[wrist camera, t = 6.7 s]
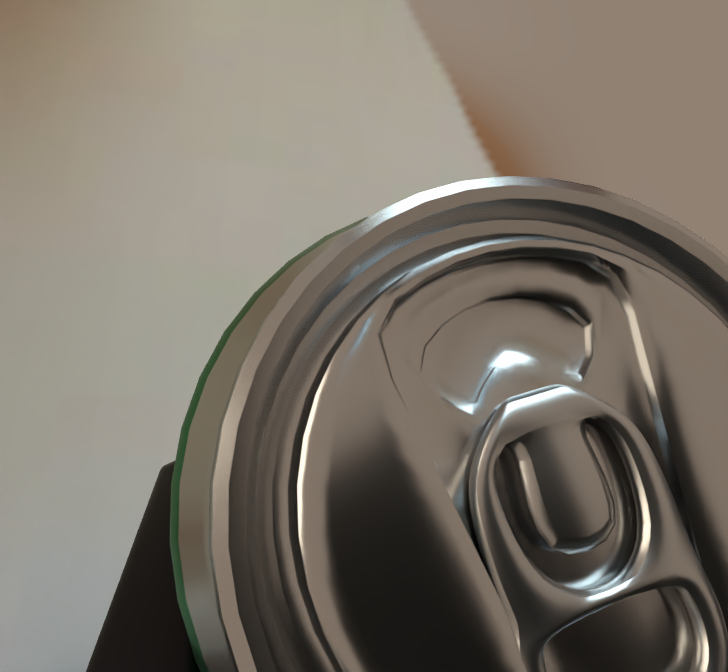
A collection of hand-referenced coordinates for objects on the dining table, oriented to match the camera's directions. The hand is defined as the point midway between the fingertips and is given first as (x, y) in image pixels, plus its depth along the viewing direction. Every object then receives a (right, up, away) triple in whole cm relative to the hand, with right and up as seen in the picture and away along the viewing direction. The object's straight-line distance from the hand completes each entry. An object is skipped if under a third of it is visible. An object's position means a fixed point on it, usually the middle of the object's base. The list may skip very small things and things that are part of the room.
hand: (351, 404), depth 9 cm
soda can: (-1, -3, +6) cm, 7 cm away
